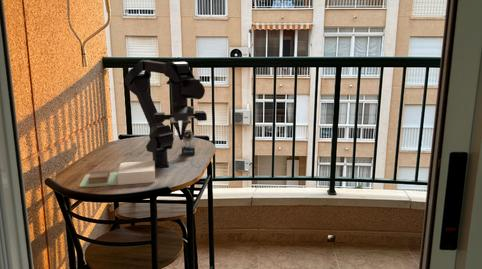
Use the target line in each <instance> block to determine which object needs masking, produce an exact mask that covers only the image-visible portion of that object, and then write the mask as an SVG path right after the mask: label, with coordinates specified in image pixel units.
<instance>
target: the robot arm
mask: <svg viewBox="0 0 482 269" xmlns="http://www.w3.org/2000/svg"><path fill="white" fill-rule="evenodd" d="M152 73H156V74H157V73H158V74H162V75H164V76H165V77H167V78H169V79H168V80H167V81H166V85H170V99H171V100H170V101H171V102H170V103H171V114H170V113H169V114H165V112H158V110H157V108H156V106H155V103H154V101H153V99H152V98H153V97H152V96H151V94H150V92H149V87H150V81H149V80H150V79H151V77H152ZM124 83H125V85H126V87H127V88H128V90H129V91H130V92H131V93H133V95H135V96H136V98H137V100H138V104H139V105H140V107H141V109H142V112H143V115H144V117H145V119H146V123H147V124H148V126H149V135H148V137H149V141H148V142H147V144H146V146H145V148H146V151H147V152H148V153H152V161H155V169H156V168H167V167H170V162H169V160H168V150H171V149H172V148H173V145H174V140H175V139H174V132H172V129H171V126H170V125H173V126H174V129H175V130H176V132H177V135H178V136H177V137H178V139H179V140H180V141H183V136H184V132H185V129H187V127H188V125H189V124H191V123H192V121H191V120H192V119H194V120H197V122H204V121H207V120H208V119H207V118H208V117H207V115H208V114H207V112H205V111H204V110H195V111H194V106H192V105H191V106H190V105H188V99H191V100H201V99H202V98H204V97H205V93H206V89H205V86H204V84H203V83H201V79H200V78H195V75H194V74H193V72H192V70H191V69H190V67H189V65H188V62H186V61H170V62H162V61H157V60H156V61H154V60H150V59H142V60H139V61H137V63H136V65H135V66H133V67H131V69H129V71H128V72H127V74H126V75H125V77H124ZM167 120H168V121H169V123H170V125H169V124H164V122H165V121H167ZM179 122H181V127H180V123H179Z"/></svg>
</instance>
